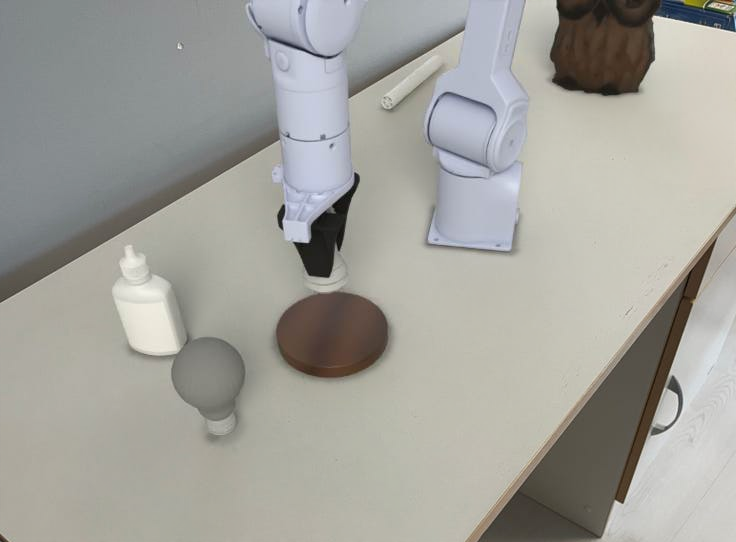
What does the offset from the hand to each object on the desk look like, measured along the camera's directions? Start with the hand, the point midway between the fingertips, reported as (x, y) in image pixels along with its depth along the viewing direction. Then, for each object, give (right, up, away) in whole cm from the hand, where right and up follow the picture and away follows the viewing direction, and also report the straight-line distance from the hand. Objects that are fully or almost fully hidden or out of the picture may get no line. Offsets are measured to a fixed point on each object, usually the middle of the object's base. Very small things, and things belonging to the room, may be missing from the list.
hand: (325, 261), depth 67 cm
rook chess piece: (0, -2, +2) cm, 3 cm away
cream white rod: (+12, +33, +45) cm, 57 cm away
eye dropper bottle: (-17, -8, +5) cm, 19 cm away
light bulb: (-9, -15, -3) cm, 18 cm away
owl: (+41, +34, +44) cm, 69 cm away
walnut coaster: (+1, -7, +5) cm, 9 cm away
